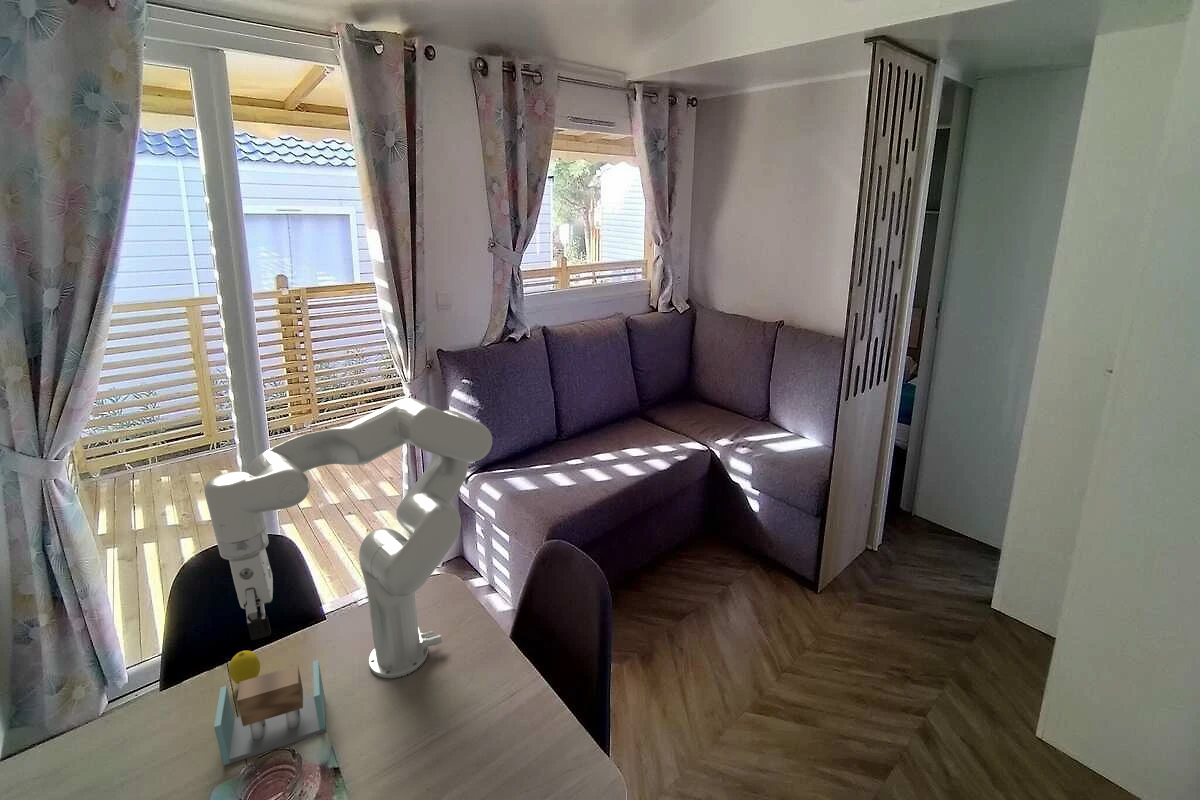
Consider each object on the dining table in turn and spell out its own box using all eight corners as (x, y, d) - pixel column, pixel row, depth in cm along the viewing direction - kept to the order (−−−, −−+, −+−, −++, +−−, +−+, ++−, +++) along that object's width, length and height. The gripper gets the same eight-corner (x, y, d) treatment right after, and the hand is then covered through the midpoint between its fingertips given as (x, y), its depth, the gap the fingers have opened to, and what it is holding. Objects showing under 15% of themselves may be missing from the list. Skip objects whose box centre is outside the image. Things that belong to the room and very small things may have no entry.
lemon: (249, 695, 123) (242, 663, 120) (226, 690, 124) (219, 659, 122) (269, 675, 128) (262, 645, 126) (246, 671, 129) (240, 641, 127)
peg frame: (324, 695, 123) (318, 659, 120) (326, 731, 114) (319, 694, 112) (229, 724, 116) (220, 687, 113) (223, 765, 107) (214, 726, 105)
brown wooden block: (302, 689, 118) (298, 665, 116) (302, 707, 114) (298, 682, 112) (245, 706, 114) (239, 681, 112) (243, 726, 110) (237, 700, 108)
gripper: (266, 560, 99) (285, 643, 104) (267, 513, 113) (284, 589, 119) (213, 572, 96) (236, 657, 101) (222, 523, 110) (241, 600, 116)
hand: (262, 620), depth 110 cm, fingers open, 9 cm apart
